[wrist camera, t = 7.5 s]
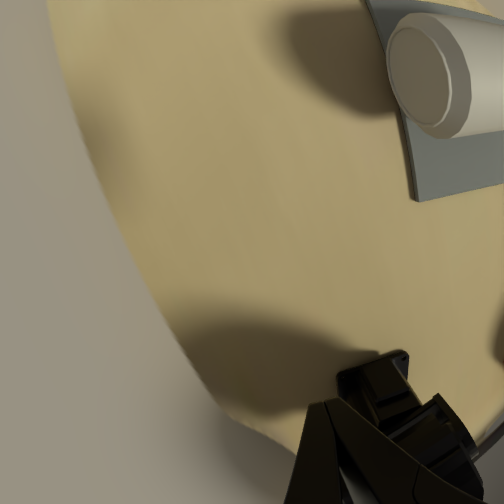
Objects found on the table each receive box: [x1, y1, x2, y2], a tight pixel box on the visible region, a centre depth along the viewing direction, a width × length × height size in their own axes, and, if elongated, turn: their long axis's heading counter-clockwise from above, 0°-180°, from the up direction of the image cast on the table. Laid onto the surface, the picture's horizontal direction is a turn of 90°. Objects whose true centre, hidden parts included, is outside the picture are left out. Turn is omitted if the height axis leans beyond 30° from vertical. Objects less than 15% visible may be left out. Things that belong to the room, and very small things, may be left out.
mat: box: [365, 0, 504, 202], centre depth 16 cm, size 15×16×1 cm
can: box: [386, 13, 504, 139], centre depth 12 cm, size 8×8×12 cm
